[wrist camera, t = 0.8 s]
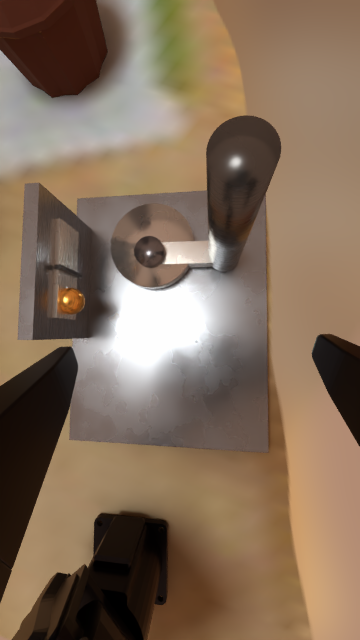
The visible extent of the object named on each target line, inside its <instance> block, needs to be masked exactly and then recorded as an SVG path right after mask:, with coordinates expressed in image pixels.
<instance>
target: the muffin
mask: <svg viewBox="0 0 360 640" xmlns="http://www.w3.org/2000/svg"><path fill="white" fill-rule="evenodd" d="M0 50H1V51H2V52H3V53H4V54H5V55H6V57H7V58H8V59H9V60H10V61H11V62H12V63H13V64H14V65H15V66H16V67H17V68H18V70H19V71H20V72H21V73H22V74H23V75H24V76H25V77H26V78H27V79H28V80H29V82H30V83H31V84H32V85H33V86H35V87H37V88H39V89H41V90H43V91H45V92H46V93H47V94H48V95H50V96H51V97H52V98H54V97H59V96H63V95H78V94H79V93H80V92H81V91H82V90H83V89H84V88H85V87H86V86H87V85H88V84H90V83H91V82H93V81H94V80H96V79H97V78H98V77H99V75H100V70H101V66H102V63H103V61H104V59H105V56H106V54H107V47H106V43H105V39H104V34H103V30H102V26H101V21H100V17H99V12H98V8H97V4H96V0H0Z"/></svg>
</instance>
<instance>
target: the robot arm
mask: <svg viewBox="0 0 360 640" xmlns="http://www.w3.org/2000/svg"><path fill="white" fill-rule="evenodd" d="M312 358H313V360H314V363H315V365H316V367H317V369H318V371H319V374H320V376H321V378H322V380H323V382H324V385H325V387H326V389H327V391H328V393H329V395H330V397H331V399H332V400H333V402H334V404H335V405H336V407H337V409H338V411H339V412H340V414H341V416H342V417H343V419H344V421H345V422H346V424H347V426H348V427H349V429H350V431H351V433H352V434H353V436H354V438H355V440H356V441H357V443H358V445H359V446H360V346H357V345H355V344H353V343H351V342H348V341H346V340H344V339H341V338H339V337H337V336H334V335H332V334H320V335H318V336H317V338H316V341H315V344H314V347H313V350H312ZM77 373H78V362H77V359H76V356H75V353H74V350H73V348H72V347H59V348H57V349H56V350H54V351H53V352H51V353H50V354H48V355H47V356H45V357H44V358H42V359H41V360H39V361H38V362H36V363H35V364H33V365H32V366H30V367H29V368H27V369H26V370H24V371H23V372H21V373H20V374H18V375H16V376H15V377H13V378H12V379H10V380H9V381H7V382H6V383H4V384H3V385H1V386H0V602H1V600H2V597H3V594H4V591H5V588H6V586H7V583H8V580H9V577H10V574H11V572H12V570H11V569H12V568H13V565H14V563H15V560H16V557H17V554H18V551H19V548H20V546H21V543H22V540H23V537H24V534H25V532H26V529H27V526H28V523H29V520H30V518H31V515H32V512H33V509H34V506H35V504H36V501H37V498H38V495H39V492H40V489H41V487H42V484H43V481H44V478H45V475H46V473H47V470H48V467H49V464H50V461H51V459H52V456H53V453H54V450H55V447H56V445H57V442H58V439H59V436H60V433H61V430H62V428H63V425H64V422H65V419H66V416H67V414H68V410H69V407H70V403H71V399H72V395H73V390H74V386H75V382H76V377H77ZM99 520H101V521H102V523H101V522H100V521H99ZM160 527H163V528H164V529H160ZM167 561H168V525H167V523H166V522H165V521H163V520H154V519H145V518H138V517H129V516H119V515H106V514H100V515H98V516H97V518H96V520H95V522H94V556H93V559H92V560H91V562H90V564H89V566H88V568H87V566H86V565H85V564H84V565H83V566H82V567H80V568H79V569H78V570H77V571H76V572H75V573H74V574H72V575H70V574H63V573H56V574H55V575H54V576H53V577H52V578H51V579H50V581H49V582H48V584H47V585H46V587H45V588H44V590H43V591H42V593H41V594H40V596H39V598H38V599H37V601H36V603H35V604H34V606H33V608H32V610H31V612H30V613H29V614H28V615H27V616H26V617H25V618H24V620H23V621H22V623H21V626H20V629H19V630H18V632H17V633H16V634H15V636H14V637H13V639H12V640H147V638H148V633H149V628H150V623H151V619H152V614H153V609H154V604H158V605H163V604H165V602H166V598H167ZM159 595H161V596H162V597H161V596H159Z"/></svg>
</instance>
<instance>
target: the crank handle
mask: <svg viewBox="0 0 360 640" xmlns="http://www.w3.org/2000/svg"><path fill="white" fill-rule="evenodd" d="M280 154H281V142H280V138H279V136H278V133H277V132H276V130H275V129H274V128H273V126H272V125H271V124H270V123H268V122H267V121H265V120H263V119H261V118H258V117H254V116H238V117H235V118H232V119H229V120H228V121H226V122H224V123H223V124H221V125H220V126H219V127H218V128H217V129H216V130H215V131H214V133H213V134H212V136H211V137H210V139H209V142H208V145H207V152H206V158H207V207H208V241H194V239H193V234H192V230H191V227H190V225H189V223H188V222H187V220H186V219H185V217H184V216H183V215H182V214H181V213H180V212H178V211H177V210H176V209H174V208H172V207H170V206H168V205H164V204H158V203H150V204H144V205H141V206H138V207H136V208H134V209H132V210H131V211H129V212H128V213H127V214H125V215H124V216H123V217H122V218H121V220H120V221H119V222H118V224H117V225H116V227H115V229H114V232H113V235H112V239H111V255H112V259H113V262H114V264H115V266H116V268H117V269H118V271H119V272H120V273H121V275H123V276H124V277H125V278H126V279H127V280H129V281H130V282H132V283H134V284H135V285H137V286H139V287H142V288H147V289H160V288H164V287H167V286H170V285H172V284H174V283H175V282H177V281H178V280H179V279H180V278H182V277H183V276H184V274H185V273H186V272H187V270H188V269H189V267H213V268H214V269H216V270H218V271H222V272H226V271H230V270H232V269H233V268H235V267H236V265H237V264H238V262H239V260H240V257H241V255H242V252H243V250H244V247H245V244H246V242H247V239H248V237H249V234H250V232H251V229H252V227H253V224H254V222H255V219H256V217H257V214H258V212H259V209H260V207H261V204H262V201H263V199H264V196H265V194H266V191H267V189H268V186H269V184H270V181H271V179H272V176H273V174H274V171H275V168H276V166H277V163H278V161H279V158H280Z"/></svg>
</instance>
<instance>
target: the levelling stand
mask: <svg viewBox="0 0 360 640" xmlns="http://www.w3.org/2000/svg"><path fill="white" fill-rule="evenodd" d="M150 203H158V204H164V205H168V206H170V207H172V208H174V209H176V210H177V211H178V212H180V213H181V214H182V215H183V216H184V217H185V219H186V220H187V222H188V223H189V225H190V227H191V230H192V234H193V239H194V241H208V207H207V191H193V192H177V193H161V194H145V195H129V196H113V197H97V198H81V199H78V200H77V216H76V215H75V214H74V213H73V212H72V211H71V210H69V209H68V208H67V207H66V206H65V205H64V204H63V203H62V202H60V201H59V200H58V199H57V198H56V197H55V196H54V195H52V194H51V193H50V192H49V191H48V190H47V189H46V188H45V187H43V186H42V185H41V184H40V183H29V184H25V192H24V213H23V235H22V257H21V278H20V300H19V322H18V340H44V339H73V350H74V353H75V356H76V359H77V362H78V373H77V377H76V382H75V386H74V390H73V395H72V399H71V409H70V439H69V440H81V441H96V442H112V443H127V444H142V445H157V446H172V447H187V448H202V449H218V450H233V451H248V452H263V453H268V368H267V278H266V194H265V196H264V199H263V201H262V204H261V207H260V209H259V212H258V214H257V217H256V219H255V222H254V224H253V227H252V229H251V232H250V234H249V237H248V239H247V242H246V244H245V247H244V250H243V252H242V255H241V257H240V260H239V262H238V264H237V265H236V267H235V268H233V269H232V270H230V271H226V272H222V271H218V270H216V269H214V268H213V267H189V269H188V270H187V272H186V273H185V274H184V276H183V277H182V278H180V279H179V280H178V281H177V282H175V283H174V284H172V285H170V286H167V287H164V288H160V289H147V288H142V287H139V286H137V285H135V284H134V283H132V282H130V281H129V280H127V279H126V278H125V277H124V276H123V275H121V273H120V272H119V271H118V269H117V268H116V266H115V264H114V262H113V259H112V255H111V239H112V235H113V232H114V229H115V227H116V225H117V224H118V222H119V221H120V220H121V218H122V217H123V216H124V215H125V214H127V213H128V212H129V211H131V210H132V209H134V208H136V207H138V206H141V205H144V204H150Z"/></svg>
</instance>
